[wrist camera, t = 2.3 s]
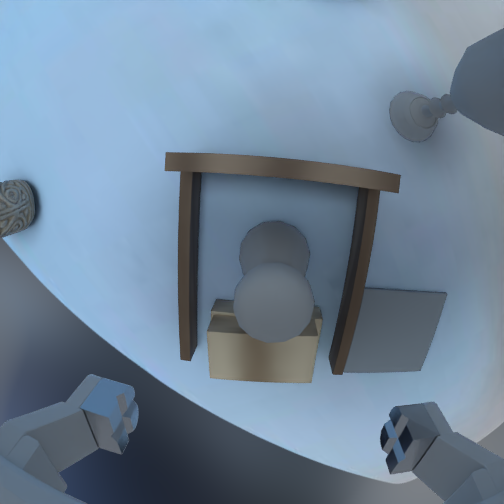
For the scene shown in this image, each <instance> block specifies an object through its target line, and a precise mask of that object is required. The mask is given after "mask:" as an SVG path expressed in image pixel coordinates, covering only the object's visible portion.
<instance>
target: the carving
mask: <svg viewBox="0 0 504 504" xmlns="http://www.w3.org/2000/svg"><path fill="white" fill-rule="evenodd" d="M34 214H35V203H34V197H33V193H32V190H31V188H30V186H29V185H28V184H27V183H26V182H25V181H22V180H9V181H4V182H3V183H2V182H0V238H2V237H6V236H8V235H11V234H14V233H17V232H20V231H22V230H24V229H26V228H28V226H29V225H30V223H31V222H32V220H33V218H34Z"/></svg>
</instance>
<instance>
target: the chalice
mask: <svg viewBox="0 0 504 504" xmlns="http://www.w3.org/2000/svg"><path fill="white" fill-rule="evenodd" d="M450 94H451V95H448V94H445V95H443V96H442V97H441V99H439V98H432V99H428V98H427V97H426V96H424V95H421V94H418V93H415V92H411V91H404V92H400V93H399V94H397V95H396V96H395V97H394V98H393V100H392V101H391V104H390V110H389V111H390V118H391V121H392V123H393V126H394V127H395V129H396V130H397V132H398V133H399V134H400V135H402V136H403V137H404V138H405V139H408V140H410V141H413V142H421V141H424V140H426V139H428V138H429V137H430V136H431V135H432V133H433V131H434V129H435V128H436V126H437V123H438V118H443V117H445V115H446V112H447V113H449V114H455V113H456V112H457V110H458V111H459V112H460V113H461V114H462V115H464V116H466V117H467V118H469V119H471V120H472V121H474V122H476V123H477V124H479V125H481V126H482V127H484V128H486V129H488V130H491V131H493V132H495V133H498V134H500V135H502V136H504V28H503V29H501V30H499V31H497V32H495V33H493V34H491V35H489V36H487V37H486V38H484V39H482V40H480V41H478V42H476V43H474V44H473V45H471V46H469V47H467V49H466V51H465V53H464V55H463V57H462V59H461V60H460V62H459V64H458V66H457V68H456V70H455V73H454V77H453V81H452V85H451V90H450Z"/></svg>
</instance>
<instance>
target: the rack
mask: <svg viewBox="0 0 504 504" xmlns="http://www.w3.org/2000/svg"><path fill="white" fill-rule="evenodd" d="M165 171H181V175H180V196H179V226H178V307H179V337H180V357H181V360H186V361H191V359H192V356H193V354H194V352H195V349H196V347H197V271H198V234H199V210H200V190H201V173H202V172H208V173H226V174H242V175H255V176H267V177H279V178H289V179H299V180H308V181H317V182H325V183H333V184H341V185H348V186H355V187H359V190H358V199H357V207H356V215H355V222H354V230H353V236H352V243H351V250H350V256H349V262H348V268H347V273H346V279H345V284H344V290H343V295H342V300H341V305H340V310H339V315H338V319H337V324H336V328H335V333H334V337H333V342H332V346H331V350H330V354H329V361H330V365H331V369H332V373H333V375H342V374H343V371H344V368H345V364H346V361H347V357H348V354H349V350H350V346H351V342H352V339H353V335H354V331H355V327H356V323H357V319H358V315H359V310H360V306H361V301H362V297H363V292H364V288H365V283H366V278H367V273H368V268H369V262H370V257H371V251H372V245H373V239H374V233H375V226H376V219H377V212H378V204H379V196H380V190H382V191H388V192H394V193H399V185H400V176H401V175H398V174H393V173H387V172H382V171H376V170H370V169H364V168H357V167H351V166H344V165H337V164H329V163H322V162H314V161H305V160H296V159H286V158H275V157H263V156H250V155H234V154H213V153H171V152H166V158H165Z"/></svg>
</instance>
